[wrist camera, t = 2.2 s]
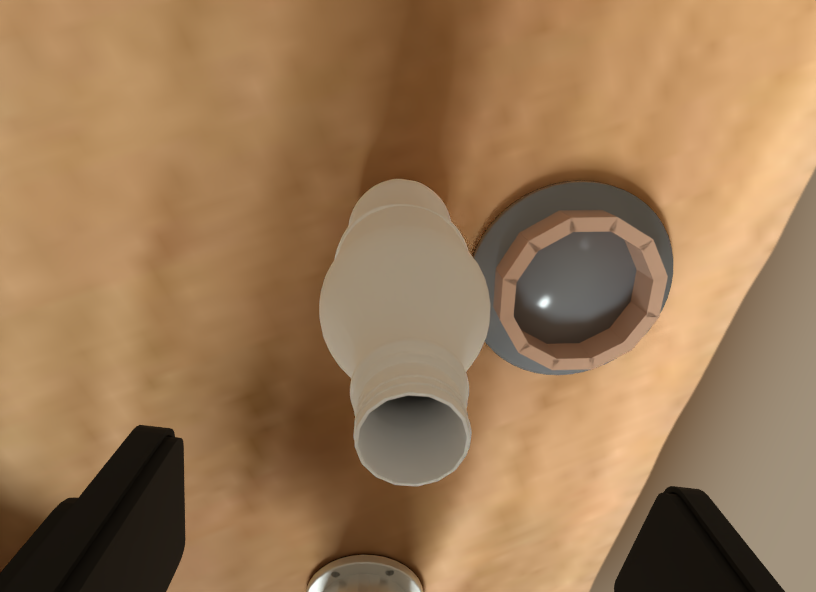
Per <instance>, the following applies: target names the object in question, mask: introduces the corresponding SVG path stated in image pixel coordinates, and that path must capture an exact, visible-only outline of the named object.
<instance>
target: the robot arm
mask: <svg viewBox="0 0 816 592" xmlns="http://www.w3.org/2000/svg"><path fill="white" fill-rule="evenodd" d="M184 547H185V499H184V445H183V440H182V438H176V437H175V434H174V431H173V429H170V428H162V427H154V426H145V425H139V426H137V427H136V428H135V429H134V430H133V431H132V432H131V433H130V434H129V436H128V437H127V438H126V439H125V441H124V442H123V443H122V444H121V446H120V447H119V448H118V449H117V450H116V452H115V453H114V454H113V455H112V457H111V458H110V459H109V460H108V462H107V463H106V464H105V465H104V467H103V468H102V469H101V470H100V472H99V473H98V474H97V475H96V477H95V478H94V479H93V480H92V482H91V483H90V484H89V485H88V487H87V488H86V489H85V490H84V492H83V493H82V494H81V495H80V497H79V498H68V499H66V500H64V501H63V502H61V503H60V504H59V505H58V506H57V507H56V508H55V509H54V510H53V511H52V512H51V513H50V515H49V516H48V517H47V518H46V519H45V520H44V522H43V523H42V524H41V525H40V526H39V528H38V529H37V530H36V531H35V532H34V534H33V535H32V536H31V537H30V538H29V540H28V541H27V542H26V543H25V544H24V545H23V547H22V548H21V549H20V550H19V551H18V553H17V554H16V555H15V556H14V557H13V559H12V560H11V561H10V562H9V563H8V565H7V566H6V567H5V568H4V569H3V570H2V572H1V573H0V592H166V591H167V589H168V587H169V584H170V582H171V580H172V578H173V576H174V574H175V572H176V569H177V567H178V565H179V563H180V561H181V558H182V555H183V551H184ZM306 592H423V588H422V585H421V583H420V581H419V579H418V577H417V576H416V575H415V574H414V573H413V571H411V570H410V569H409V568H407V567H406V566H405V565H403V564H401V563H399V562H397V561H395V560H392V559H389V558H386V557H382V556H376V555H354V556H348V557H344V558H340V559H338V560H335V561H333V562H330V563H329V564H327V565H325V566H324V567H322V568H321V569H320V570H319V571H318V572H316V573H315V574H314V576H313V577H312V579H311V580H310V581H309V584H308V587H307V589H306ZM614 592H785V591H784V590H783V589H782V588H781V586H780V585H779V584H778V582H777V581H776V580H775V579H774V578H773V576H772V575H771V574H770V573H769V571H768V570H767V569H766V567H765V566H764V565H763V564H762V563H761V561H760V560H759V559H758V558H757V556H756V555H755V554H754V553H753V551H752V550H751V549H750V548H749V546H748V545H747V544H746V543H745V541H744V540H743V539H742V538H741V536H740V535H739V534H738V533H737V531H736V530H735V529H734V528H733V526H732V525H731V524H730V523H729V521H728V520H727V519H726V518H725V516H724V515H723V514H722V513H721V511H720V510H719V509H718V508H717V506H716V505H715V504H714V503H713V501H712V500H711V499H710V498H709V496H708V495H707V494H706V493H705V492H703V491H701V490H699V489H691V488H683V487H675V486H670V487H668V488H667V489H666V490H665V491H664V492H663V493H660V494H659V495H658V496H657V498H656V500H655V502H654V504H653V506H652V508H651V510H650V512H649V514H648V516H647V518H646V520H645V522H644V524H643V526H642V528H641V530H640V532H639V534H638V536H637V538H636V540H635V542H634V544H633V546H632V548H631V550H630V553H629V554H628V556H627V558H626V561H625V562H624V565H623V567H622V569H621V571H620V573H619V575H618V577H617V579H616V581H615V585H614Z"/></svg>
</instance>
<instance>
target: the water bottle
mask: <svg viewBox="0 0 816 592" xmlns="http://www.w3.org/2000/svg"><path fill="white" fill-rule="evenodd" d="M319 318H320V323H321V328H322V333H323V337H324V340H325V342H326V344H327V347H328V349H329V351H330V353H331V355H332V356H333V358H334V359H335V361H336V362H337V364H338V365H339V366H340V367H341V368H342V370H343V371H344V372H345V373H346V374H347V375H348V376H349V377H350V378H351V384H350V399H351V403H352V406H353V409H354V415H355V421H354V424H355V425H354V436H353V438H354V441H355V449H356V451H357V454H358V456H359V459H360V461H361V463H362V465H363V466H365V467H366V468H367V469H368V470H369V471H370V472H371V473H372V474H373V475H374V476H375V477H377V478H379V479H382V480H384V481H387V482H389V483H392V484H394V485H402V486H421V485H425V484H429V483H433V482H437V481H439V480H441V479H442V478H444V477H446V476H447V475H449V474H450V473H452V472H454V471H455V470H456V469H457V467H458V466H459V465H460V463H461V462H462V461H463V459H464V458H465V457H466V455H467V452H468V449H469V448H470V441H471V434H472V432H471V426H470V421H469V419H468V413H467V405H468V404H467V401H468V397H469V382H468V377H467V373H466V371H467V370H468V369H469V368H470V366H471V365H472V364H473V362H474V361H475V359H476V358H477V356H478V355H479V353H480V350H481V348H482V346H483V344H484V341H485V339H486V336H487V332H488V328H489V323H490V298H489V292H488V287H487V284H486V280H485V277H484V275H483V273H482V271H481V269H480V267H479V265H478V263H477V262H476V261H475V259H474V258H473V257H472V255H471V254H470V253H469V250H468V247H467V244H466V242H465V240H464V238H463V236H462V234H461V233H460V231H459V230H458V228H457V227H456V226H455V225H454V224H453V223H452V222H451V218H450V215H449V212H448V210H447V208H446V206H445V204H444V202H443V201H442V200H441V198H440V197H439V196H438V195H437V194H436V193H435V192H434V191H433V190H431V189H430V188H429V187H427V186H425V185H424V184H422V183H420V182H417V181H412V180H406V179H391V180H387V181H384V182H381V183H379V184H377V185H375V186H373V187H372V188H370V189H369V190H368V191H367V192H366V193H365V194H364V195H363V196H362V197H361V198H360V199H359V200H358V202H357V203H356V205H355V207H354V209H353V211H352V214H351V216H350V220H349V226H348V227H347V229H346V230H345V232H344V234H343V236H342V238H341V240H340V242H339V245H338V247H337V250H336V255H335V260H334V262H333V263H332V264H331V266H330V268H329V270H328V272H327V274H326V276H325V279H324V282H323V286H322V289H321V294H320V301H319Z"/></svg>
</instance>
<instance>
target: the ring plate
mask: <svg viewBox="0 0 816 592" xmlns="http://www.w3.org/2000/svg"><path fill="white" fill-rule="evenodd" d="M473 258H474V259H475V261H476V262H477V263H478V265H479V267H480V269H481V271H482V273H483V275H484V277H485V280H486V284H487V287H488V292H489V298H490V323H489V328H488V332H487V336H486V339H485V342H486V344H487V345H488V346H489V347H490V348H491V349H492V350H493V351H494V352H495V353H496V354H497V355H499V356H500V357H501V358H502V359H504V360H506V361H507V362H509V363H511V364H512V365H514V366H517V367H519V368H521V369H524V370H527V371H531V372H534V373H540V374H546V375H566V374H574V373H579V372H584V371H588V370H591V369H595V368H597V367H599V366H602V365H604V364H606V363H608V362H610V361H612V360H614V359H616V358H617V357H619V356H621V355H623V354H625V353H627V352H629V351H631V350H632V349H633V348H634V347H635V346H636V345H637V343H638V342H639V341H640V340H641V339H642V337H643V336H644V335H645V334H646V333H647V332H648V331H649V329H650V328H651V327H652V325H653V324H654V323H655V322H656V320H657V319H658V318H659V316H660V313H661V311H662V309H663V307H664V305H665V302H666V300H667V298H668V295H669V291H670V288H671V283H672V277H673V254H672V247H671V244H670V240H669V237H668V234H667V232H666V230H665V228H664V226H663V224H662V222H661V221H660V219H659V218H658V217H657V215H656V214H655V213H654V212H653V211H652V209H651V208H650V207H649V206H648V205H647V204H645V203H644V202H643V201H641V200H640V199H639V198H638V197H636V196H634V195H632V194H630V193H629V192H627V191H625V190H622V189H619V188H616V187H614V186H611V185H608V184H604V183H599V182H594V181H567V182H561V183H556V184H552V185H549V186H546V187H543V188H540V189H537V190H535V191H533V192H531V193H529V194H527V195H525V196H523V197H522V198H520V199H519V200H517V201H515V202H514V203H512V204H511V205H510V206H509V207H508V208H506V209H505V210H504V211H503V212H502V213H501V214H500V215H499V216H498V217H497V218H496V219H495V220H494V221H493V222H492V223H491V224H490V226H489V227H488V229H487V230H486V231H485V233H484V234H483V236H482V237H481V239H480V241H479V243H478V245H477V247H476V249H475V252H474V254H473Z"/></svg>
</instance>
